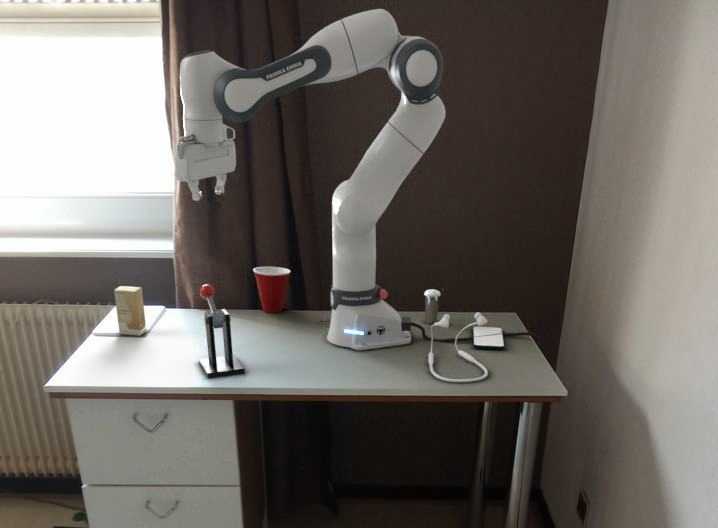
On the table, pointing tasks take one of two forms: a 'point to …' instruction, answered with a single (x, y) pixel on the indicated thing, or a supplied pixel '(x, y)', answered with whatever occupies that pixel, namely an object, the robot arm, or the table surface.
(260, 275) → the plastic cup
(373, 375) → the table surface
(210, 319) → the bracket
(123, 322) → the cosmetic box
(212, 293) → the lever
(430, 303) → the milkshake
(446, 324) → the earphone
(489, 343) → the smartphone
